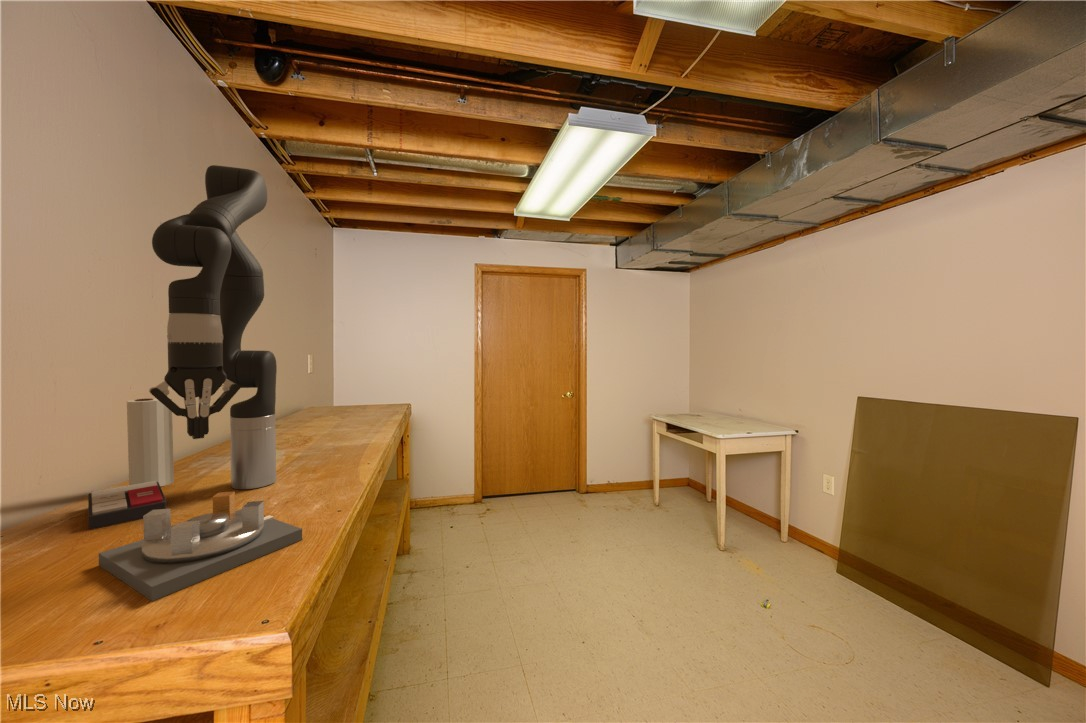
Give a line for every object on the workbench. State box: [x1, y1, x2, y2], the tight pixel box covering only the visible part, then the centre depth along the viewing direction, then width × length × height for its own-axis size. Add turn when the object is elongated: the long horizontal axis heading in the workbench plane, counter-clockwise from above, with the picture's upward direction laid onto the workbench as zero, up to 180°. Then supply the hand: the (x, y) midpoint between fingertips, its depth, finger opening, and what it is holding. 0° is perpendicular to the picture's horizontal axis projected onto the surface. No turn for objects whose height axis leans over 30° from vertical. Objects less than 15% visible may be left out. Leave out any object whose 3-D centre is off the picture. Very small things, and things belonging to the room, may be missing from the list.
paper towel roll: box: [126, 398, 175, 487], centre depth 102 cm, size 7×6×21 cm
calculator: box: [87, 481, 168, 531], centre depth 89 cm, size 11×4×15 cm
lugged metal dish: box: [142, 491, 265, 563], centre depth 71 cm, size 16×16×5 cm
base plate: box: [98, 508, 303, 602], centre depth 72 cm, size 19×21×2 cm
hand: (198, 437), depth 76 cm, fingers closed
